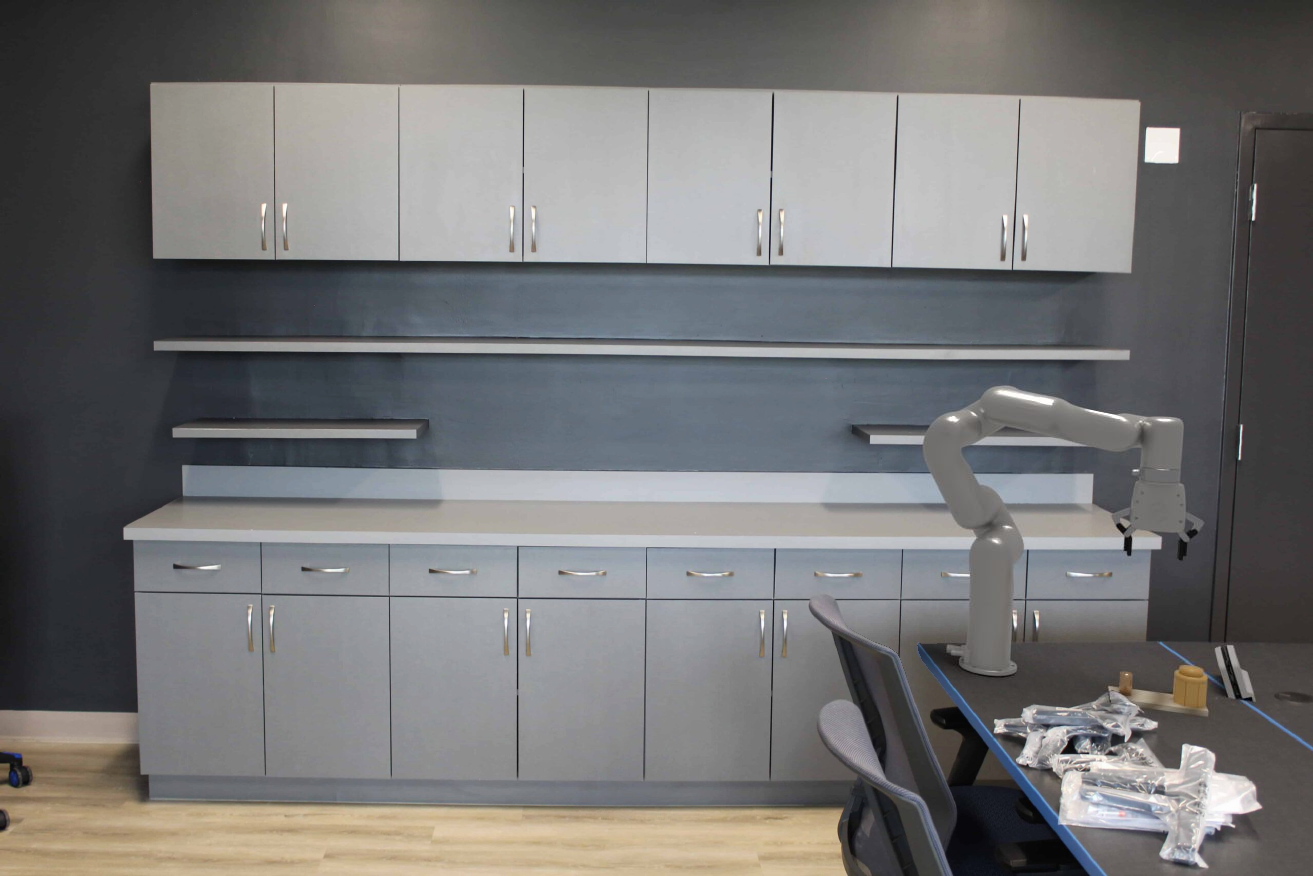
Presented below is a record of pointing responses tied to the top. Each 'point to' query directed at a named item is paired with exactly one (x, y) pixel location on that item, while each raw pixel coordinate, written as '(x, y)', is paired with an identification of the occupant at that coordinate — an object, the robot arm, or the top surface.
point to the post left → (1125, 683)
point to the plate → (1160, 702)
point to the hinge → (1233, 674)
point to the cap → (1190, 686)
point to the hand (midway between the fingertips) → (1154, 557)
